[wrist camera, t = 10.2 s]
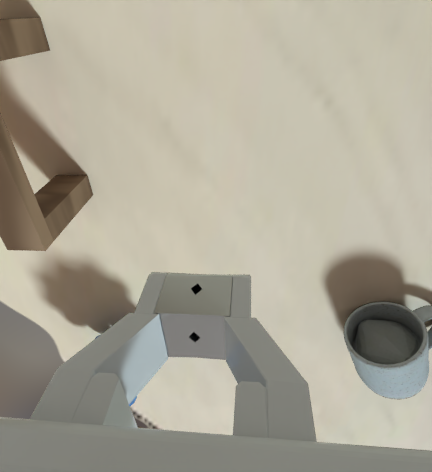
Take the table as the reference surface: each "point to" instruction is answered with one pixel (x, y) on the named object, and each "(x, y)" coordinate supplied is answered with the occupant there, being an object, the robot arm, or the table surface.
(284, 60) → the table surface
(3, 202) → the bridge
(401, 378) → the ceramic mug
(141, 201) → the table surface
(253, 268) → the table surface
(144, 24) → the table surface
